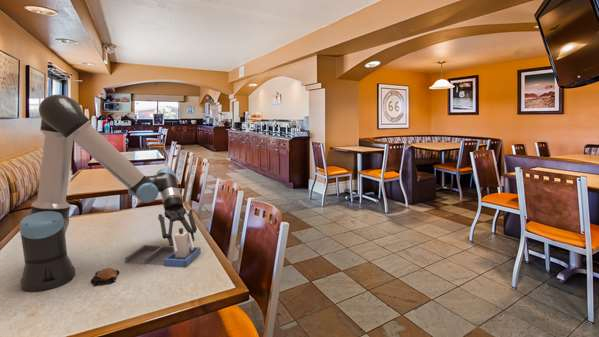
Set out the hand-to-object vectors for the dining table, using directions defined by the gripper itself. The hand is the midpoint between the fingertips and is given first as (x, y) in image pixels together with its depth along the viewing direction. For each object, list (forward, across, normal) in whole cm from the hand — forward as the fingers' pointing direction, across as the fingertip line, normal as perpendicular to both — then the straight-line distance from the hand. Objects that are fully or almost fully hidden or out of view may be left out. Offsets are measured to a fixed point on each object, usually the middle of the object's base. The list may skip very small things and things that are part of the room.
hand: (184, 250), depth 128 cm
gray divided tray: (-3, +6, -10) cm, 12 cm away
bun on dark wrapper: (+2, +27, -6) cm, 28 cm away
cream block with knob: (0, 0, -5) cm, 5 cm away
